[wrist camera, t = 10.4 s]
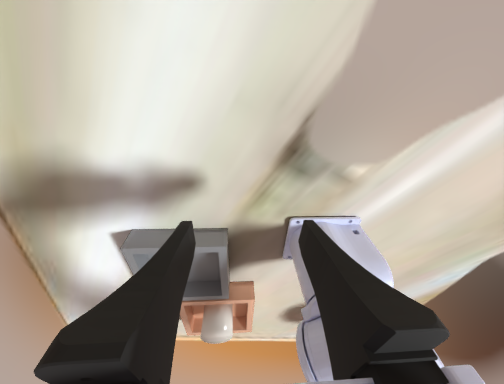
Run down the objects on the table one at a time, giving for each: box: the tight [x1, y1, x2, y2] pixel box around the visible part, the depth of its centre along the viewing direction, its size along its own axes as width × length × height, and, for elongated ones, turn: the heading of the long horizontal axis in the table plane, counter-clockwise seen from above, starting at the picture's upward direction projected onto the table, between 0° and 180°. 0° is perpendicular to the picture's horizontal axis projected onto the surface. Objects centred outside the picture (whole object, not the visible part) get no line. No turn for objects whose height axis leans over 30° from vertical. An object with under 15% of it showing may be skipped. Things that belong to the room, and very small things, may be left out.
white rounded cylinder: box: [201, 304, 233, 344], centre depth 33 cm, size 5×5×5 cm
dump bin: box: [180, 281, 255, 335], centre depth 34 cm, size 12×12×3 cm
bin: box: [120, 228, 230, 301], centre depth 27 cm, size 12×12×3 cm
